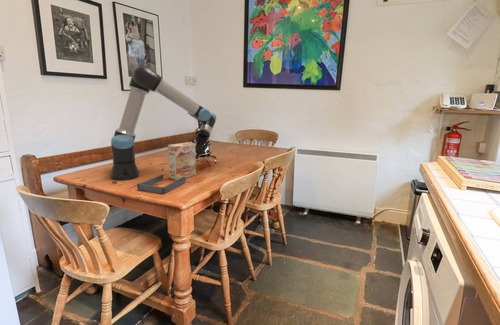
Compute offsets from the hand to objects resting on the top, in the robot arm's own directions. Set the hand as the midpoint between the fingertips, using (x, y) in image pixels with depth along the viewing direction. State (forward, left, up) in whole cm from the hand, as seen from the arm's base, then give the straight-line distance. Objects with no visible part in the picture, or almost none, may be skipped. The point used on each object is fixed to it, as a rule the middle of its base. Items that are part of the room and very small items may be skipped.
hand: (192, 162), depth 178 cm
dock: (0, -32, -6) cm, 32 cm away
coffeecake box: (0, -12, -6) cm, 13 cm away
